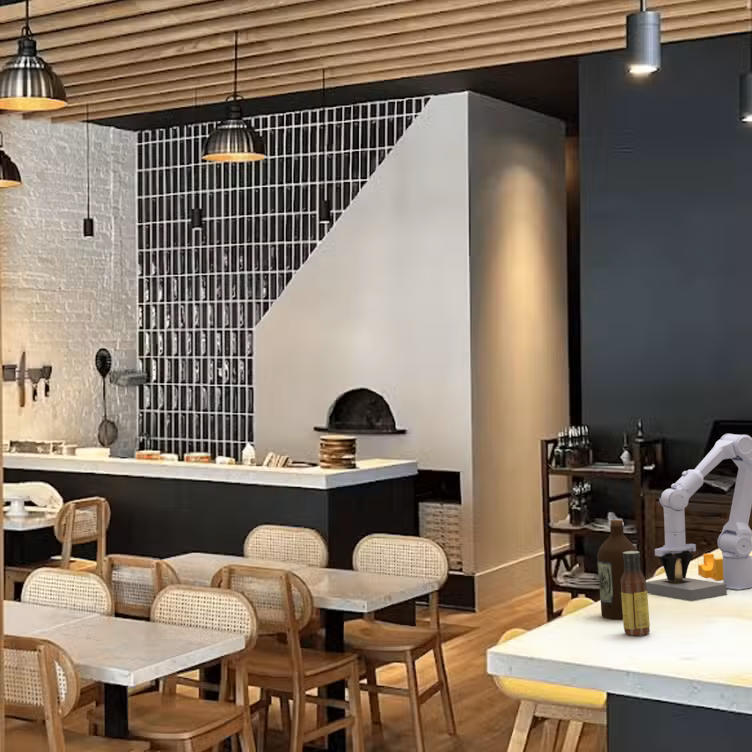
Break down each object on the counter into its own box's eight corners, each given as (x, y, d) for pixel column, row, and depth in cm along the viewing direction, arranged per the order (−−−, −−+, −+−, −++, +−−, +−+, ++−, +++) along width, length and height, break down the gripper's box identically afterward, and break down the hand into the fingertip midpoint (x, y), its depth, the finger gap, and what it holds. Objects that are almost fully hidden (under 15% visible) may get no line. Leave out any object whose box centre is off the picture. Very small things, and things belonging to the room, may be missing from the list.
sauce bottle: (651, 631, 304) (648, 550, 304) (648, 637, 298) (645, 553, 298) (624, 630, 306) (621, 549, 306) (620, 636, 300) (617, 553, 300)
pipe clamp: (698, 575, 384) (697, 554, 384) (712, 574, 384) (711, 553, 384) (710, 581, 372) (709, 559, 372) (724, 581, 372) (724, 559, 372)
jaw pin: (676, 584, 358) (675, 557, 358) (686, 586, 355) (684, 558, 355) (665, 586, 356) (664, 558, 356) (675, 588, 353) (673, 559, 353)
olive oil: (628, 611, 330) (624, 516, 330) (648, 618, 320) (645, 520, 320) (591, 614, 327) (588, 519, 327) (611, 622, 317) (607, 523, 317)
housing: (678, 586, 364) (678, 576, 364) (726, 594, 349) (726, 583, 349) (643, 592, 356) (643, 582, 356) (691, 601, 341) (691, 590, 341)
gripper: (682, 527, 362) (683, 574, 362) (646, 532, 355) (647, 580, 355) (700, 529, 357) (702, 577, 357) (664, 534, 349) (666, 583, 349)
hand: (676, 579), depth 355 cm, fingers closed on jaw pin, 4 cm apart
